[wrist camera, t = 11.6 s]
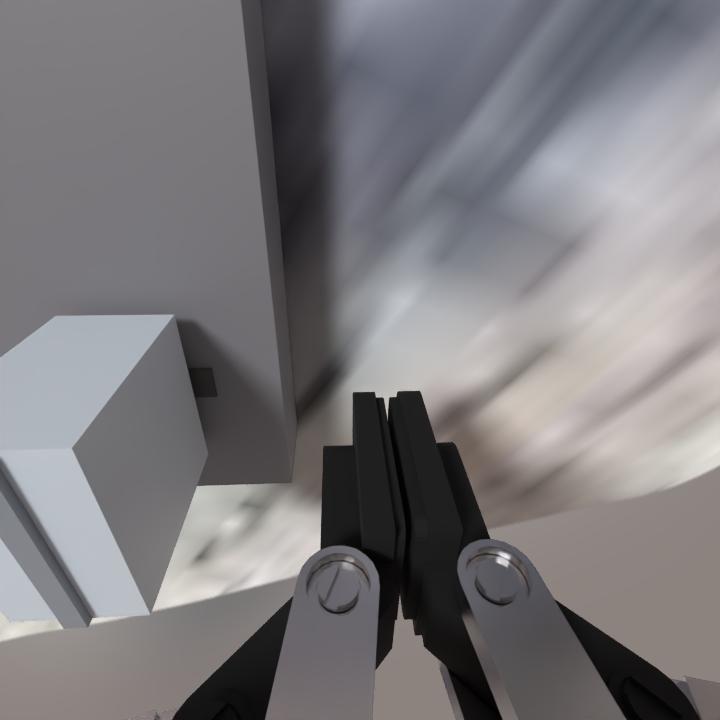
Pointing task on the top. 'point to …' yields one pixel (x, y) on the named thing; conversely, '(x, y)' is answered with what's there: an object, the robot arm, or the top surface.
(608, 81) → the top surface
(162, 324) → the grey fader
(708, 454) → the top surface
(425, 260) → the top surface
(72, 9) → the fader console
